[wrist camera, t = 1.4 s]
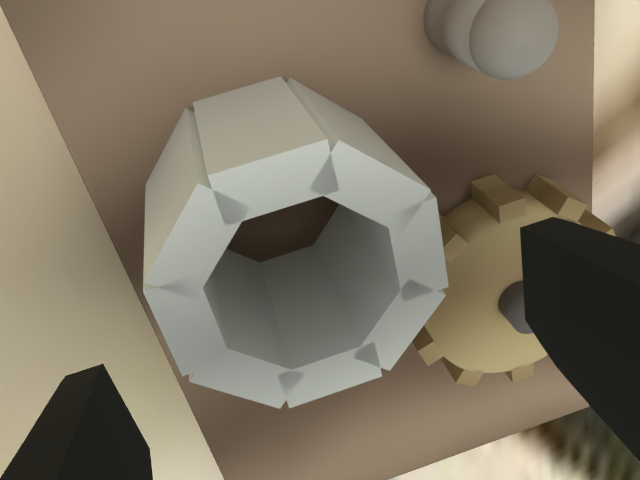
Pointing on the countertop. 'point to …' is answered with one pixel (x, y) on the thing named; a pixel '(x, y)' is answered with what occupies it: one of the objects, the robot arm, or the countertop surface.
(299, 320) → the hollow cylinder
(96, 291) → the countertop surface
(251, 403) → the gear board
